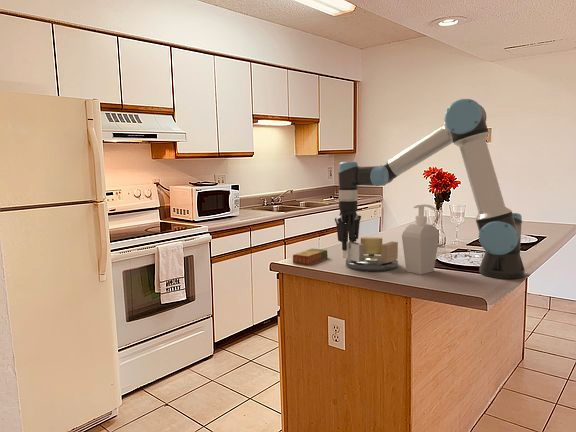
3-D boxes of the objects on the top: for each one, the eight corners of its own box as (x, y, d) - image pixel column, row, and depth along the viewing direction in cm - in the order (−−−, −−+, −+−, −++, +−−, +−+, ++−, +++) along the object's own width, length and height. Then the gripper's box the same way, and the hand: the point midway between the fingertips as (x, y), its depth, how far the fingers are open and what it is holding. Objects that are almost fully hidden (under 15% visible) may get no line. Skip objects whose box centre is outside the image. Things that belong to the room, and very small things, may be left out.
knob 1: (364, 263, 177) (364, 244, 176) (359, 264, 175) (359, 245, 174) (349, 259, 184) (349, 241, 183) (344, 260, 183) (344, 241, 182)
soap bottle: (423, 276, 164) (425, 206, 161) (401, 271, 172) (402, 205, 169) (442, 271, 172) (444, 204, 168) (420, 266, 179) (421, 202, 176)
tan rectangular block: (391, 260, 182) (391, 241, 181) (397, 260, 180) (397, 242, 179) (380, 264, 175) (381, 244, 174) (386, 265, 173) (387, 245, 172)
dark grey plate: (405, 270, 174) (405, 263, 173) (353, 272, 171) (353, 265, 171) (387, 258, 194) (387, 252, 194) (340, 260, 192) (340, 254, 192)
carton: (292, 264, 190) (292, 254, 189) (311, 256, 203) (311, 247, 202) (309, 266, 185) (309, 256, 185) (327, 258, 198) (327, 249, 198)
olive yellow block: (382, 255, 191) (382, 237, 190) (382, 256, 188) (382, 238, 187) (360, 254, 192) (360, 237, 191) (360, 256, 190) (360, 238, 189)
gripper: (354, 198, 187) (354, 253, 190) (328, 201, 178) (328, 258, 181) (367, 199, 181) (367, 256, 184) (341, 202, 172) (341, 261, 175)
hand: (348, 257), depth 182 cm, fingers closed on knob 1, 2 cm apart
